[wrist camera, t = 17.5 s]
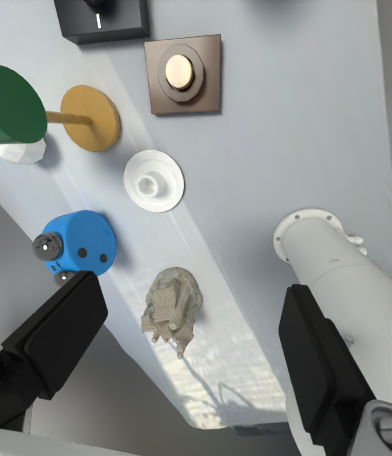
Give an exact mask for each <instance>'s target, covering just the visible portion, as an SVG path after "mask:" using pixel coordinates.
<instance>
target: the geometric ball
mask: <svg viewBox="0 0 392 456" xmlns="http://www.w3.org/2000/svg"><path fill="white" fill-rule="evenodd" d="M45 149H46V144H45V142H44V139H43V138H42V139H41V140H40V141H38V142H36V143H31V144H2V145H0V157H2V158H3V159H5V160H7V161H9V162H10V163H12V164H22V165H31V164H33V163H35V162H37V161H39V160H41V159H42V158H43V155H44V152H45Z"/></svg>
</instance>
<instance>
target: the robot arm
mask: <svg viewBox="0 0 392 456" xmlns="http://www.w3.org/2000/svg"><path fill="white" fill-rule="evenodd" d="M296 215H297V216H296ZM327 216H328V217H327ZM277 237H278V238H277ZM362 243H363V238H362V237H359V236H352V237H349V236H348V235H347V234H345V233H344V231H343V227H342V224H341V222H340V221H339V219H338V218H336V217H335V216H334V215H333V214H331V213H330V212H328V211H326V210H323V209H318V208H306V209H301V210H298V211H295V212H293V213H291V214H289V215H288V216H286V217H285V218H284V219H283V220H282V221H281V222H280V223H279V224H278V226H277V227H276V229H275V231H274V234H273V246H274V249H275V251H276V253H277V255H278V256H279V257H280V258H281V259H282V260H283V261H285V262H287V263H289V264H291V266H292V268H293V270H294V272H295V274H296V276H297V278H298V280H299V282H300V284H301V285H300V284H293V285H292V286H291V287H288V288H287V292H286V297H285V301H284V306H283V310H282V315H281V319H280V324H279V337H280V341H281V345H282V348H283V352H284V356H285V360H286V364H287V367H288V371H289V375H290V379H291V383H292V384H291V385H290V387H289V389H288V391H287V395H286V413H287V418H288V422H289V425H290V429H291V432H292V434H293V437H294V439H295V441H296V444H297V446H298V448H299V450H300V452H301V454H302V456H392V278H391V277H390V276H389V275H387V274H386V273H385V272H384V271H383V270H382V269H381V268H379V267H378V266H377V265H376V264H375V263H374V262H373V261H371V260H370V259H369V258H368V257H367V256H366V255H367V251H366V249H365V248H364V247H355V246H354V245H353V244H362ZM107 316H108V310H107V307H106V303H105V300H104V297H103V294H102V290H101V287H100V284H99V281H98V278H97V275H96V274H95V273H94V272H93V271H88V270H80V271H78V272H77V273H76V274H75V275H74V276H73V277H72V278H71V279H70V280H69V281H68V282H67V283H66V284H64V285H63V286H62V287H61V288H60V289H59V290H58V291H57V292H56V293H55V294H54V295H53V296H52V297H51V298H50V299H48V300H47V301H46V302H45V303H44V304H43V305H42V306H41V307H40V308H39V309H38V310H37V311H36V312H35V313H34V314H32V316H30V317H29V318H28V319H27V320H26V321H25V322H24V323H23V324H22V325H21V326H20V327H19V328H18V329H17V330H16V331H14V332H13V333H12V334H11V335H10V336H9V337H8V338H7V339H6V340H5V341H4V342H3V343H2V344H1V345H2V347H3V349H2V350H1V351H0V456H139V455H134V454H129V453H124V452H119V451H114V450H109V449H104V448H99V447H94V446H88V445H83V444H78V443H73V442H68V441H63V440H57V439H52V438H47V437H42V436H37V435H32V434H30V426H31V416H32V407H33V402H34V401H35V399H36V398H37V396H38V397H39V398H40V399H46V400H51V399H52V398H53V396H54V394H55V393H56V392H58V391H59V390H60V389H61V388H62V387H63V385H64V383H65V382H66V380H67V379H68V377H69V376H70V374H71V373H72V371H73V370H74V368H75V366H76V365H77V363H78V362H79V360H80V359H81V357H82V356H83V354H84V352H85V351H86V349H87V348H88V346H89V345H90V343H91V342H92V340H93V338H94V337H95V335H96V334H97V332H98V331H99V329H100V328H101V326H102V325H103V323H104V321H105V320H106V318H107ZM342 337H343V338H345V339H347V340H350V341H352V342H354V343H353V345H352V346H351V347H349V348H348V347H347V345H346V344H345V342H344V340H343V338H342Z"/></svg>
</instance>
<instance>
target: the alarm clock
mask: <svg viewBox="0 0 392 456" xmlns="http://www.w3.org/2000/svg"><path fill="white" fill-rule="evenodd" d="M33 252H34V254H35V256H36V257H37V258H38V259H40V260H42V261H44V263H45V265H46V266H47V268H48V269H49V270H50V271H51V272H52V273H53V274H55V276H54V282H55V284H56V285H57V286H58V287H60V288H61V287H62V286H63V285H64V284H66V283H67V282H68V281H69V280H70V279H71V278H72V277H73V276H74V275H75V274H76V273H77V272H78V271H80V270H88V271H93V272H94V273H95V274H96V275H97V276H99V275H101V274H103V273H105V272H106V271H107V270H108V269H109V268H110V267H111V265H112V263H113V261H114V258H115V254H116V241H115V236H114V233H113V231H112V229H111V227H110V225H109V224H108V222H107V221H106V220H105V219H104V218H103V217H102V216H101V215H99V214H98V213H96V212H93V211H90V210H82V211H78V212H74V213H71V214H67V215H63V216H60V217H57V218H55V219H53V220H52V221H50V222H49V223H48V224H47V225H46V227H45V228H44V230H43V232H42V234H40V235H39V236H37V237H36V239H35V240H34V242H33Z"/></svg>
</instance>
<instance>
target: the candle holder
mask: <svg viewBox="0 0 392 456" xmlns="http://www.w3.org/2000/svg"><path fill="white" fill-rule="evenodd" d="M124 184H125V188H126V191H127V193H128V194H129V196H130V198H131V199H132V200H133V201H134V202H135V203H136V204H137V205H138V206H140V207H141V208H143V209H145V210H148V211H151V212H164V211H168V210H170V209H172V208H173V207H174V206H175V205H176V204H177V203H178V202H179V200H180V199H181V197H182V194H183V190H184V180H183V176H182V173H181V170H180V168H179V167H178V165H177V164H176V163H175V161H174V160H173V159H172V158H170V157H169V156H168V155H166V154H164V153H162V152H160V151H156V150H144V151H141V152H138V153H136V154H135V155H134V156H132V157H131V158H130V160H129V161H128V163H127V164H126V167H125V170H124Z"/></svg>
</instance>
